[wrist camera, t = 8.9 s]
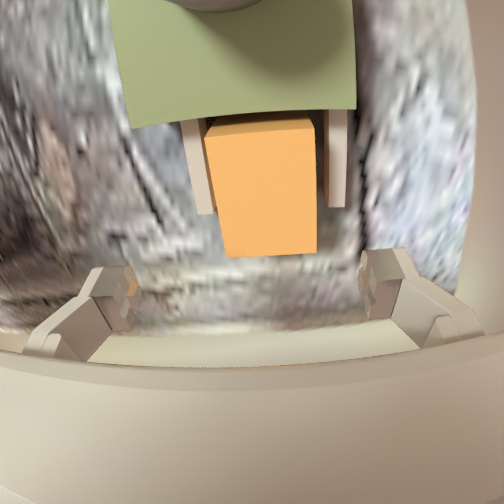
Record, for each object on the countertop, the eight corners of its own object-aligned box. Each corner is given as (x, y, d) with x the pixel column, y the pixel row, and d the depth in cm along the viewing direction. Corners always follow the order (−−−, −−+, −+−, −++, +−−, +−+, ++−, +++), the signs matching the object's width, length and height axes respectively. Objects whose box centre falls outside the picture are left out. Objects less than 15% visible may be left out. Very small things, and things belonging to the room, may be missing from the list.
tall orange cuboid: (235, 212, 22) (227, 258, 18) (219, 113, 18) (204, 137, 14) (308, 207, 22) (316, 252, 18) (303, 106, 18) (314, 128, 14)
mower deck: (175, 202, 22) (132, 295, 15) (129, -83, 9) (48, -126, 2) (338, 192, 21) (371, 286, 14) (318, -108, 8) (348, -182, 1)
